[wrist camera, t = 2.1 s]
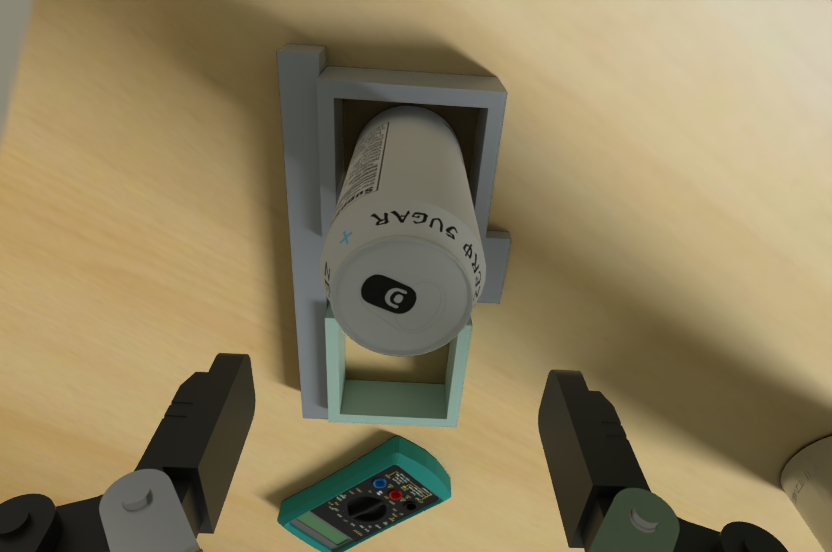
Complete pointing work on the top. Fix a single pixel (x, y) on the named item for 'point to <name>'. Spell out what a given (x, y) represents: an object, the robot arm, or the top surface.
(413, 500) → the digital multimeter
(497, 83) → the rail
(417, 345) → the energy drink can
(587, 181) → the top surface
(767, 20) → the top surface
